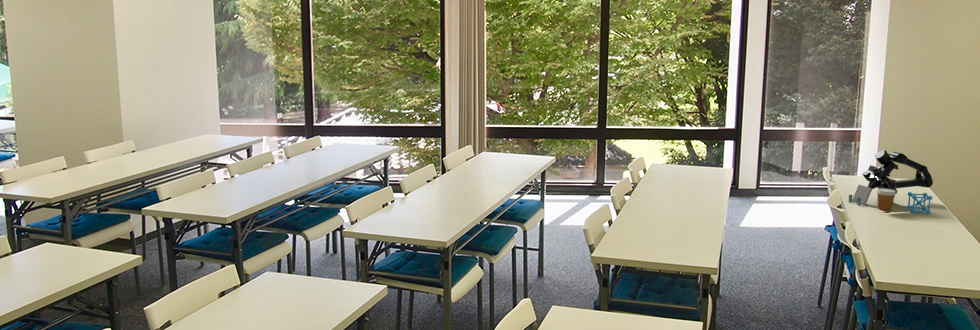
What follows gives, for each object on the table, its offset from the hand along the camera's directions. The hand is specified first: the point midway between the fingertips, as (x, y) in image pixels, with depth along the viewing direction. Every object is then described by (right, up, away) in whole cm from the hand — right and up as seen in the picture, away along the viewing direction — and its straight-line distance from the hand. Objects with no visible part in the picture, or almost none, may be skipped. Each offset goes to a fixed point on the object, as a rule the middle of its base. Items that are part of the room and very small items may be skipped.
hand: (867, 190), depth 439 cm
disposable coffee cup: (+3, -11, -13) cm, 18 cm away
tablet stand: (-3, -9, +1) cm, 9 cm away
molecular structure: (+21, -12, -13) cm, 28 cm away
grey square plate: (-5, -8, 0) cm, 9 cm away
